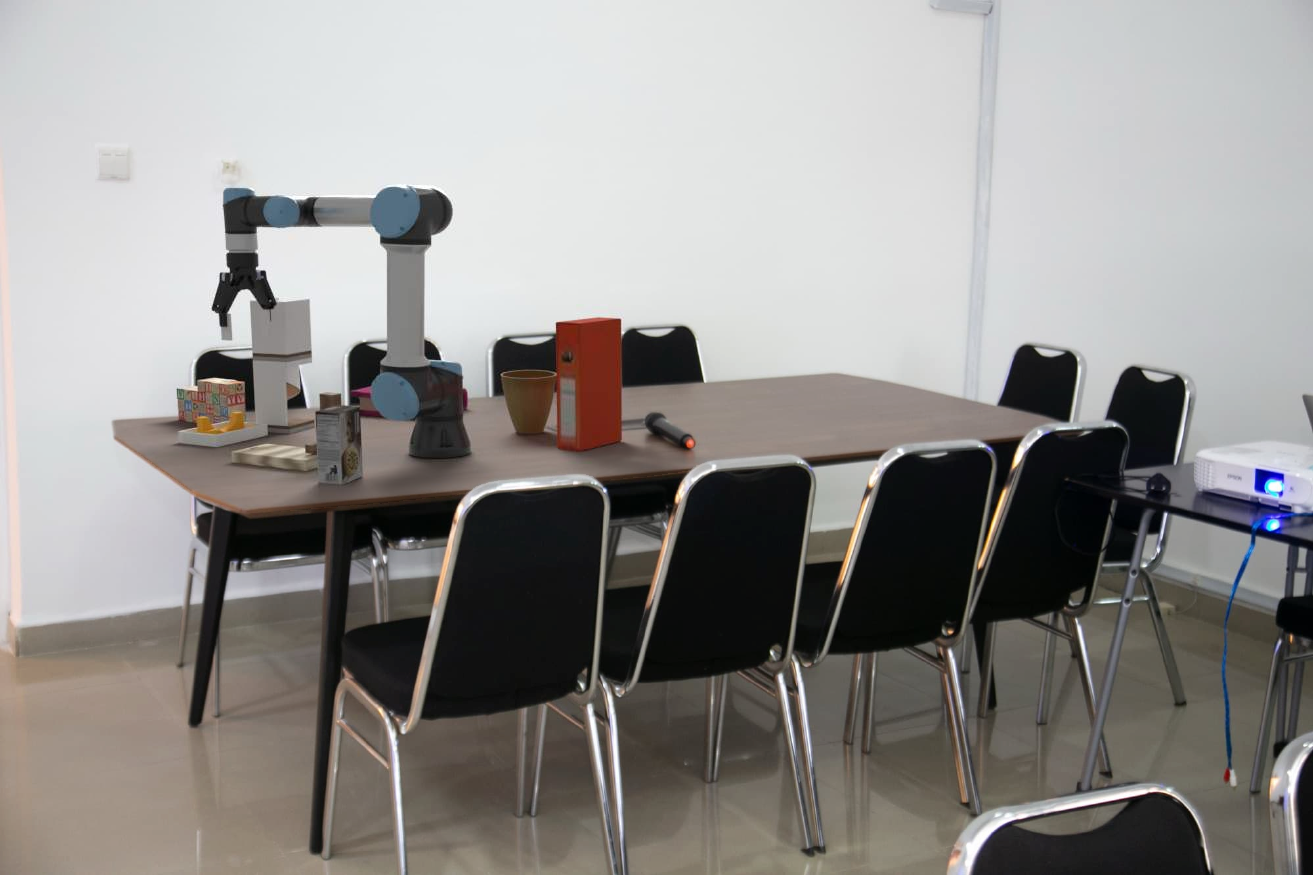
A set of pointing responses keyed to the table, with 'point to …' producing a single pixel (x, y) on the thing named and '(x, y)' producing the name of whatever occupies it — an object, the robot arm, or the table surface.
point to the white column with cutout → (280, 363)
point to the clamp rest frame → (223, 435)
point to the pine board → (276, 457)
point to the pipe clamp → (234, 424)
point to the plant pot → (529, 398)
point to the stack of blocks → (211, 400)
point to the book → (370, 409)
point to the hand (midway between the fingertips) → (246, 337)
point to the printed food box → (339, 444)
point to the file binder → (588, 383)
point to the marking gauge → (325, 402)
